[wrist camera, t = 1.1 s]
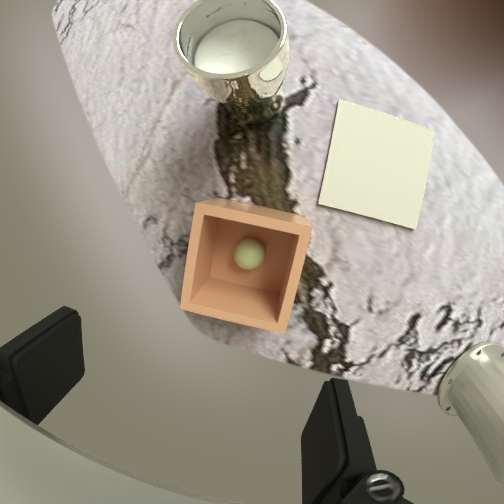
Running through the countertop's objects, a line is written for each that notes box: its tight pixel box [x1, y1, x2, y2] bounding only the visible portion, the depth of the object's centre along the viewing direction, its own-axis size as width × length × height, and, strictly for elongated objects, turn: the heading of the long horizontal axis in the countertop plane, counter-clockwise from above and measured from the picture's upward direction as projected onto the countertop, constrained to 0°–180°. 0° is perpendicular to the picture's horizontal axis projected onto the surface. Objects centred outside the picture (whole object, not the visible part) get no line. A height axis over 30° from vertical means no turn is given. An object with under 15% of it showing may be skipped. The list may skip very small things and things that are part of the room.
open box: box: [180, 197, 312, 334], centre depth 28 cm, size 9×9×8 cm
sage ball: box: [234, 239, 265, 270], centre depth 30 cm, size 3×3×3 cm
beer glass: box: [173, 0, 290, 124], centre depth 21 cm, size 7×7×15 cm
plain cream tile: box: [318, 100, 435, 230], centre depth 28 cm, size 11×11×1 cm
